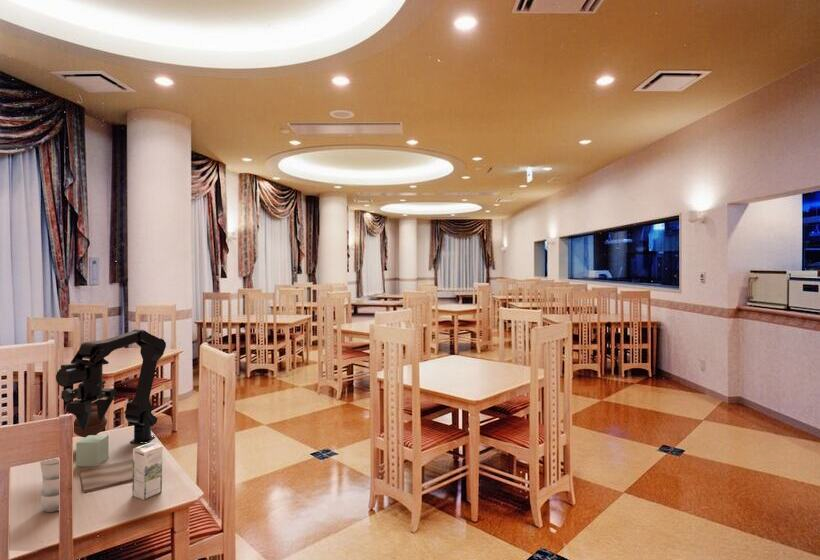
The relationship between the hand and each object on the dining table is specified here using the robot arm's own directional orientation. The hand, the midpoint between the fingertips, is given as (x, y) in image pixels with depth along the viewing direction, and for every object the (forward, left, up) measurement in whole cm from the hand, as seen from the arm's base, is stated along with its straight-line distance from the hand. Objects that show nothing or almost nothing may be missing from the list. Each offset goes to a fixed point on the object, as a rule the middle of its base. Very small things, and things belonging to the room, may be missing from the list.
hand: (92, 424), depth 158 cm
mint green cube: (0, 0, -13) cm, 13 cm away
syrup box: (+22, +29, -13) cm, 39 cm away
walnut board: (+10, +12, -13) cm, 20 cm away
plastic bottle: (+30, +8, -13) cm, 34 cm away
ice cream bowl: (-12, -8, -13) cm, 20 cm away
